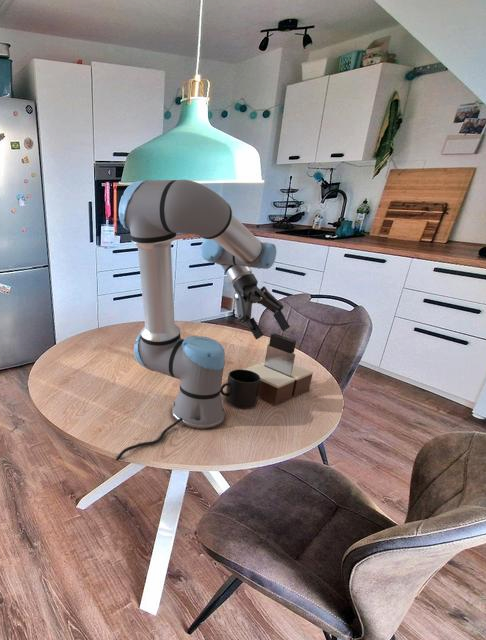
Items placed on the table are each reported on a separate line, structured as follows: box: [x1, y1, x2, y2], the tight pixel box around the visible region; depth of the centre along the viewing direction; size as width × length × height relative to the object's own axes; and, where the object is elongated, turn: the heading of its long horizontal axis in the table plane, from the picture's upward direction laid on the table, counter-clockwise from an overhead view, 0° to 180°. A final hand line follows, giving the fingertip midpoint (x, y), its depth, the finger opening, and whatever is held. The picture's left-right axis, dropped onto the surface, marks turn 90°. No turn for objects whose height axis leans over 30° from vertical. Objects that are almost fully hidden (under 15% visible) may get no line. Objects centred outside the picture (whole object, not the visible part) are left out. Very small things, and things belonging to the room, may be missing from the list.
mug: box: [220, 368, 260, 409], centre depth 121 cm, size 9×12×9 cm
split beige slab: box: [241, 361, 314, 406], centre depth 129 cm, size 18×14×7 cm
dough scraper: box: [264, 333, 297, 377], centre depth 125 cm, size 2×10×12 cm, turn 32°
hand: (273, 333), depth 126 cm, fingers open, 13 cm apart
